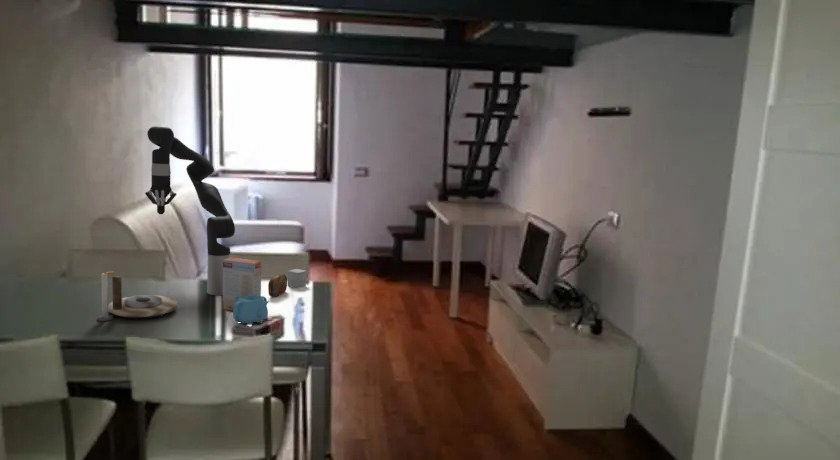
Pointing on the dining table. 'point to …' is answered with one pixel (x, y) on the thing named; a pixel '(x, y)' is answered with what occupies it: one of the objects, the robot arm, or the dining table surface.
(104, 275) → the post
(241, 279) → the cracker box
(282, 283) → the brown rounded slab
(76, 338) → the dining table surface
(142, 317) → the turntable base
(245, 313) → the teapot
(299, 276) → the grey rounded block
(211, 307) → the dining table surface
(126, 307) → the turntable
